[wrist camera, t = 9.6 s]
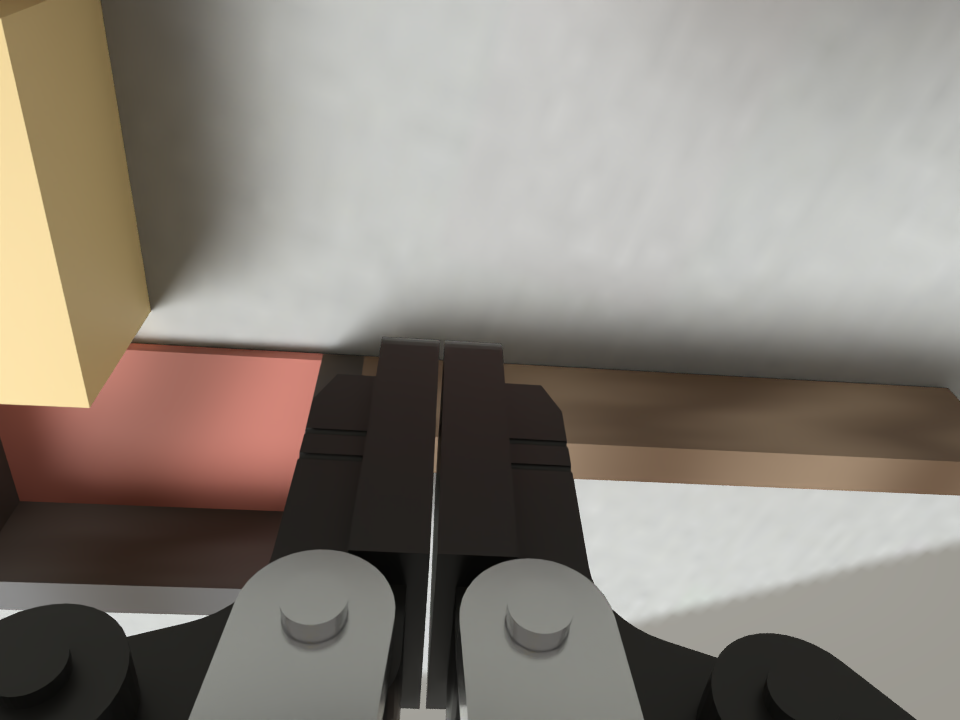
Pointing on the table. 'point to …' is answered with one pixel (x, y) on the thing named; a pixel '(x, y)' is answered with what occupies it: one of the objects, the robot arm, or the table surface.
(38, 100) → the block
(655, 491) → the table surface
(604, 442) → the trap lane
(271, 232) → the table surface
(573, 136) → the table surface
